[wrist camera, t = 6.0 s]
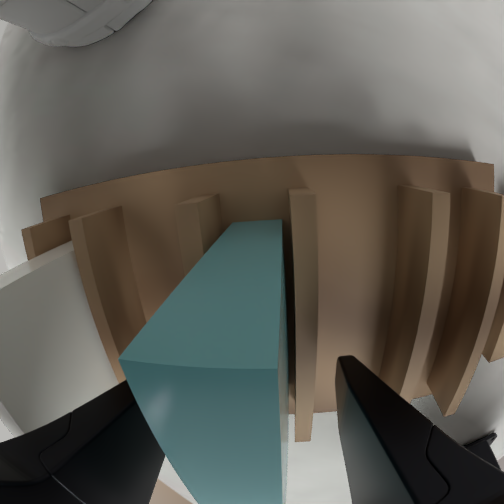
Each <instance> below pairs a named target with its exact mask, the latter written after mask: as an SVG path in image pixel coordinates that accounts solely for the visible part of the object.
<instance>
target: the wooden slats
mask: <svg viewBox="0 0 504 504" xmlns="http://www.w3.org/2000/svg"><path fill="white" fill-rule="evenodd" d="M482 355H483V356H484V357H485V358H486V359H487V361H488V362H489V363H490V362H492V361H495V360H498V359H501V358H503V357H504V278H503V283H502V288H501V292H500V296H499V300H498V304H497V308H496V312H495V315H494V319H493V322H492V325H491V329H490V332H489V335H488V338H487V341H486V343H485V346H484V349H483V352H482Z"/></svg>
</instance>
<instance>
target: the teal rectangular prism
mask: <svg viewBox="0 0 504 504" xmlns="http://www.w3.org/2000/svg"><path fill="white" fill-rule="evenodd" d="M118 360H119V363H120V365H121V368H122V370H123V372H124V375H125V377H126V379H127V382H128V384H129V386H130V388H131V391H132V393H133V395H134V397H135V399H136V401H137V403H138V405H139V407H140V409H141V411H142V413H143V415H144V417H145V419H146V421H147V423H148V425H149V427H150V429H151V431H152V433H153V434H154V436H155V438H156V440H157V441H158V443H159V445H160V447H161V448H162V450H163V452H164V453H165V455H166V457H167V458H168V460H169V462H170V463H171V465H172V466H173V468H174V470H175V471H176V473H177V474H178V476H179V477H180V479H181V480H182V482H183V483H184V485H185V486H186V487H187V489H188V490H189V492H190V493H191V495H192V496H193V497H194V499H195V500H196V501H197V503H198V504H286V486H287V463H288V430H289V354H288V322H287V297H286V276H285V257H284V239H283V224H282V219H276V220H260V221H245V222H233V223H232V224H231V225H230V226H229V227H228V228H227V229H226V230H225V232H224V233H223V234H222V235H221V236H220V237H219V238H218V239H217V241H216V242H215V243H214V244H213V245H212V246H211V247H210V249H209V250H208V251H207V252H206V253H205V254H204V256H203V257H202V258H201V259H200V260H199V261H198V262H197V264H196V265H195V266H194V267H193V268H192V269H191V271H190V272H189V273H188V274H187V275H186V276H185V278H184V279H183V280H182V281H181V282H180V284H179V285H178V286H177V287H176V288H175V289H174V291H173V292H172V293H171V294H170V295H169V297H168V298H167V299H166V300H165V301H164V303H163V304H162V305H161V306H160V307H159V309H158V310H157V311H156V312H155V313H154V315H153V316H152V317H151V318H150V320H149V321H148V322H147V323H146V324H145V326H144V327H143V328H142V329H141V331H140V332H139V333H138V334H137V336H136V337H135V338H134V339H133V340H132V342H131V343H130V344H129V345H128V347H127V348H126V349H125V350H124V352H123V353H122V354H121V356H120V357H119V358H118Z"/></svg>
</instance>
